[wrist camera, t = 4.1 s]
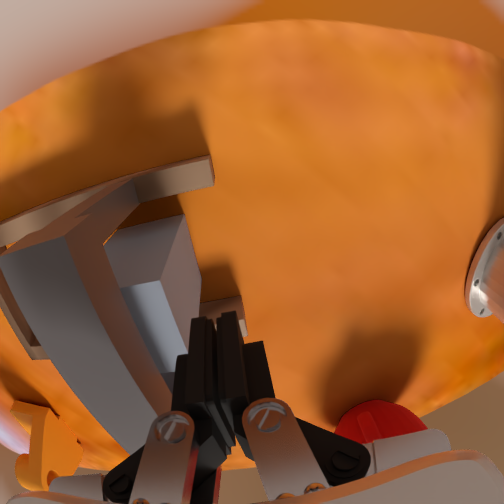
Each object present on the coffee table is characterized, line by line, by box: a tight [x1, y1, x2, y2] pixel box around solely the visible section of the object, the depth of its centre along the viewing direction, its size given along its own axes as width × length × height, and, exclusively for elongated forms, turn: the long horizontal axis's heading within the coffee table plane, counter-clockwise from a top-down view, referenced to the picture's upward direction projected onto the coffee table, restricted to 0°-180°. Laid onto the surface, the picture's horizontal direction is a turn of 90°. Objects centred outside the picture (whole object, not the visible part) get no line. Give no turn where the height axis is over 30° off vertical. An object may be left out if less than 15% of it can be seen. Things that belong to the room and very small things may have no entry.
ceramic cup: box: [334, 400, 428, 444], centre depth 26 cm, size 13×17×10 cm
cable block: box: [104, 214, 202, 373], centre depth 16 cm, size 5×5×9 cm
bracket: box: [10, 400, 84, 491], centre depth 23 cm, size 11×7×12 cm, turn 2°
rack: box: [0, 155, 248, 360], centre depth 19 cm, size 20×12×3 cm, turn 100°
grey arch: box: [0, 179, 175, 455], centre depth 13 cm, size 3×12×9 cm, turn 10°
